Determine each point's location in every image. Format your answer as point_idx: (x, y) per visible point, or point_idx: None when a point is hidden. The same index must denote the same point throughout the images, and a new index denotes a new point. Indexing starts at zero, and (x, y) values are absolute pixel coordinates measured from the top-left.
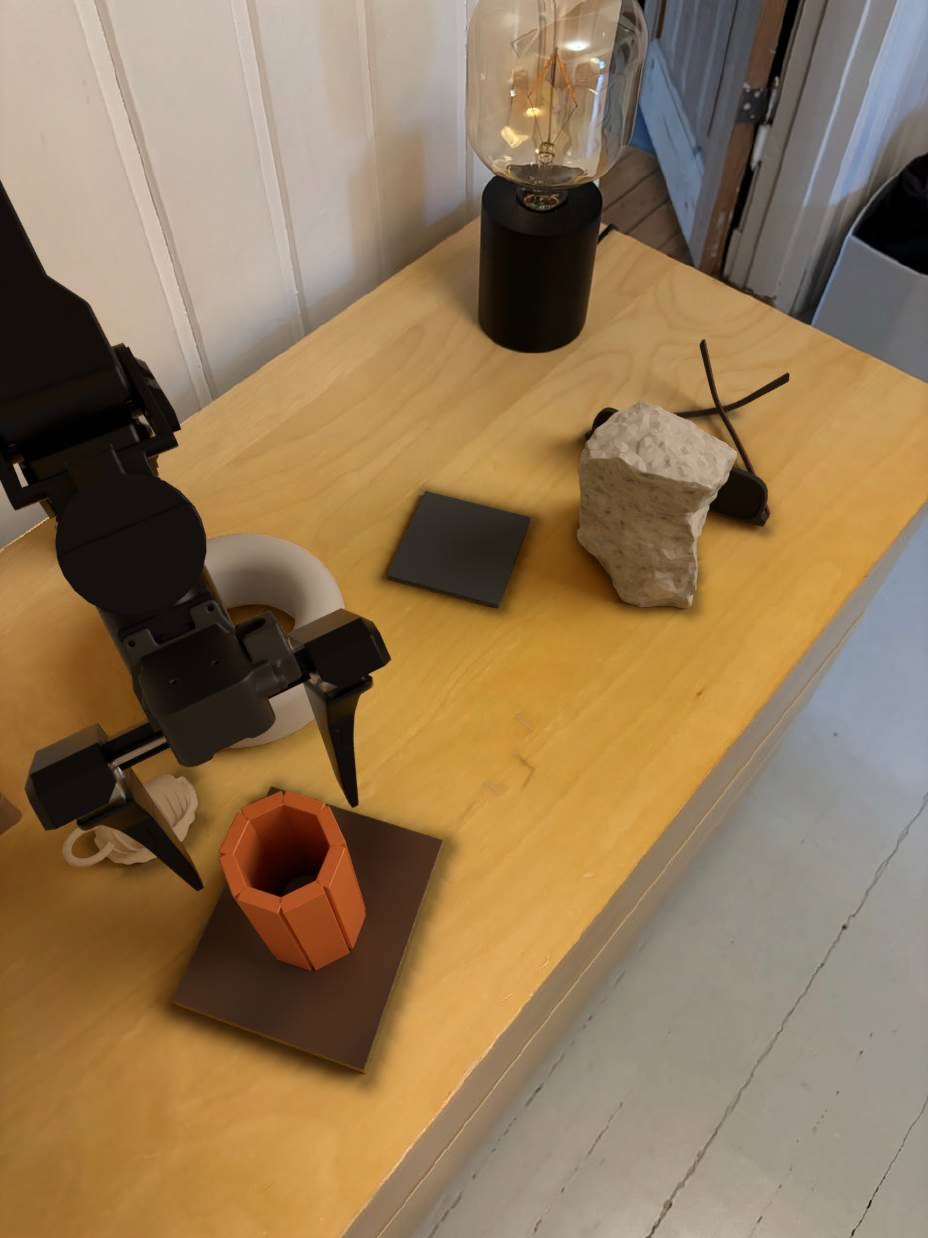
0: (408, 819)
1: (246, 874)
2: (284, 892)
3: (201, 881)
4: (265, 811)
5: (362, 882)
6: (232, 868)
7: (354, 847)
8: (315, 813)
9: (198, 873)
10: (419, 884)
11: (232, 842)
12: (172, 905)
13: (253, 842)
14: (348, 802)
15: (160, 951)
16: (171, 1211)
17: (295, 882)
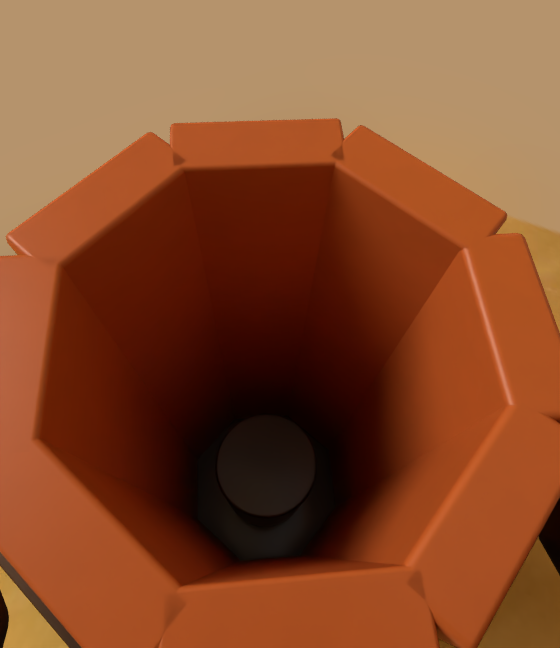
0: (19, 627)
1: (415, 450)
2: (305, 492)
3: (548, 520)
4: (297, 583)
5: None
6: (521, 334)
7: None
8: (34, 448)
9: (553, 560)
10: None
11: (515, 462)
12: (513, 638)
13: (378, 530)
14: (4, 617)
15: (535, 553)
16: (519, 232)
17: (275, 505)
